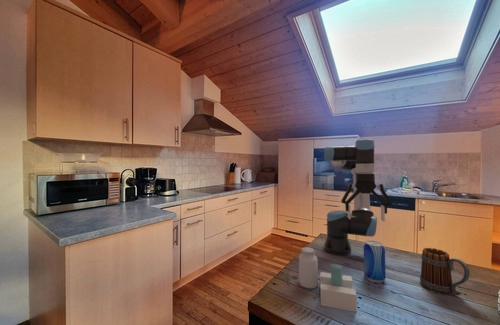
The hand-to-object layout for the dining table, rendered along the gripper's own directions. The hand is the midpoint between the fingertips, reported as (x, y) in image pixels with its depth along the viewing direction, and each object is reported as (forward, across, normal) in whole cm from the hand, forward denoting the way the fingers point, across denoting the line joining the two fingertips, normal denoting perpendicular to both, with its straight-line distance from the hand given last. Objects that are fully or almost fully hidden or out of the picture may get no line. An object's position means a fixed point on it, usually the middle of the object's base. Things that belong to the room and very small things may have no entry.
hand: (365, 219), depth 95 cm
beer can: (+27, +3, +1) cm, 27 cm away
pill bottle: (+27, -25, -12) cm, 39 cm away
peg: (+27, -14, -19) cm, 36 cm away
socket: (+27, -14, -19) cm, 36 cm away
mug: (+27, +28, -1) cm, 39 cm away
